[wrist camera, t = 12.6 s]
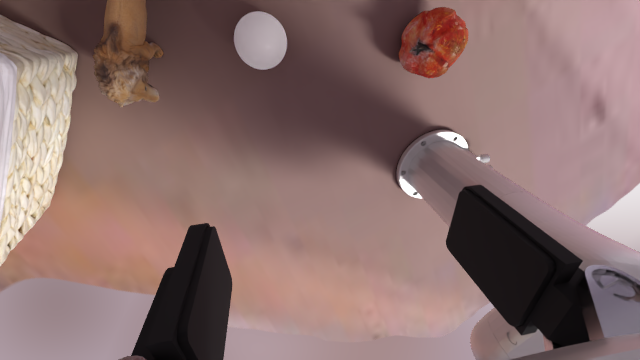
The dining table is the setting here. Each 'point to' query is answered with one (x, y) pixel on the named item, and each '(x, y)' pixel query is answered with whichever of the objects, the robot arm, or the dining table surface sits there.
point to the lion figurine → (125, 54)
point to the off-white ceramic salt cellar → (260, 40)
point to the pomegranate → (433, 42)
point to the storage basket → (31, 125)
